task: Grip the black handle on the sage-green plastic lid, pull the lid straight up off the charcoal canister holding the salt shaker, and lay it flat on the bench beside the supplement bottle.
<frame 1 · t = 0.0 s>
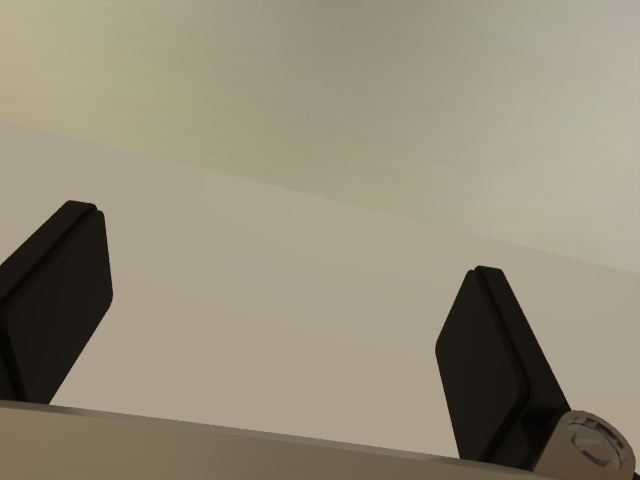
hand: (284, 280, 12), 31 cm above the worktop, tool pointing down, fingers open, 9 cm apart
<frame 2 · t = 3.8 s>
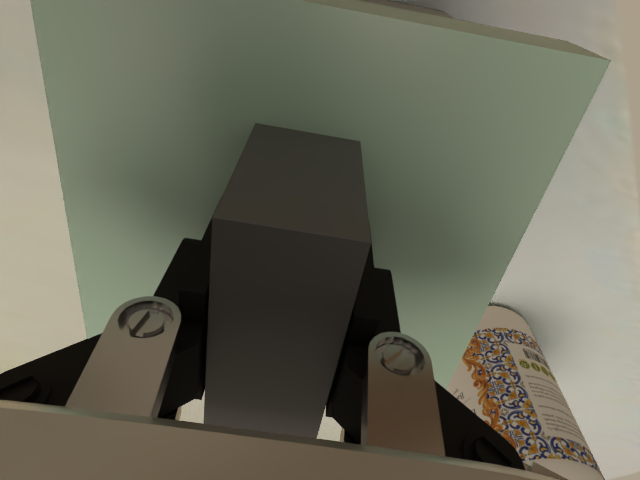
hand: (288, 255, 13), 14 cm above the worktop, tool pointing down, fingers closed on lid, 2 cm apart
lid: (296, 208, 15), point 12 cm above the worktop, touching canister, gripper
bath foam: (478, 335, 34), on the worktop
canister: (312, 103, 24), on the worktop
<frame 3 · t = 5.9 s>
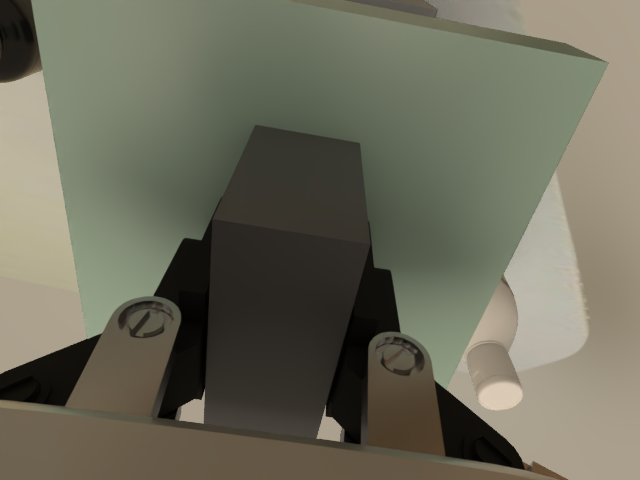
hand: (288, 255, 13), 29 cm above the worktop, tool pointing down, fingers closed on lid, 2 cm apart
lid: (295, 209, 15), point 26 cm above the worktop, touching gripper
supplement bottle: (51, 13, 36), on the worktop
bath foam: (442, 231, 46), on the worktop
canister: (322, 51, 37), on the worktop
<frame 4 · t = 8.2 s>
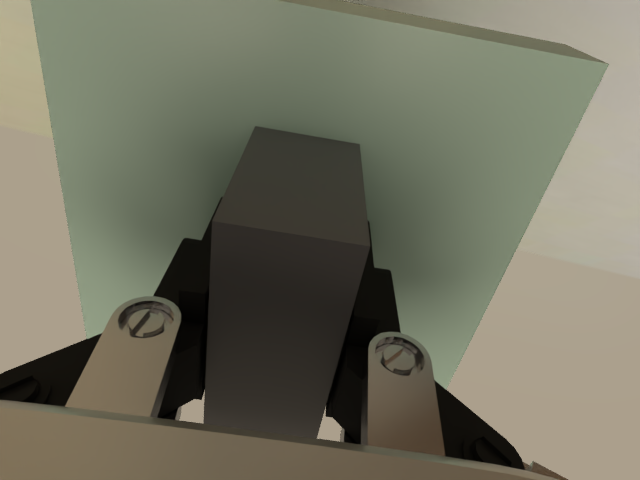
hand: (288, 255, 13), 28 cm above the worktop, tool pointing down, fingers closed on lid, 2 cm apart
lid: (295, 210, 15), point 25 cm above the worktop, touching gripper
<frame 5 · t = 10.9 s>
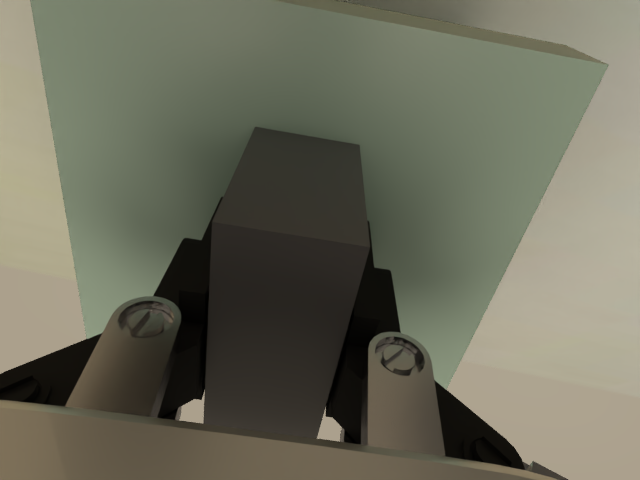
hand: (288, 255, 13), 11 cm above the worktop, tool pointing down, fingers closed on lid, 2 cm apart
lid: (295, 211, 15), point 8 cm above the worktop, touching gripper
when the fingers open (5 cm above the worktop, at t = 12.9 s): lid drops 2 cm, on the worktop.
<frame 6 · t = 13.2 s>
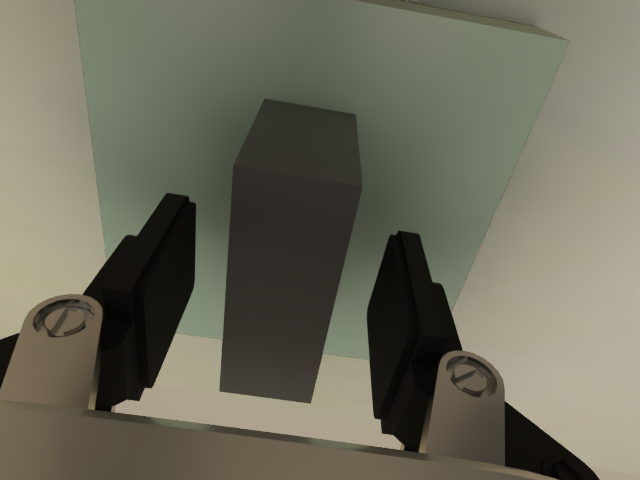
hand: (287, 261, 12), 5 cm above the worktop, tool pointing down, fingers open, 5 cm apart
lid: (299, 181, 17), on the worktop
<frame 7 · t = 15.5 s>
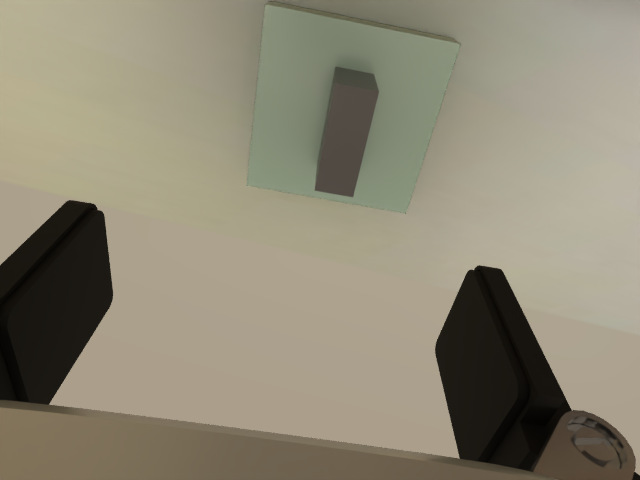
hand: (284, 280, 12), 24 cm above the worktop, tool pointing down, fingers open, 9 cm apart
lid: (343, 111, 34), on the worktop
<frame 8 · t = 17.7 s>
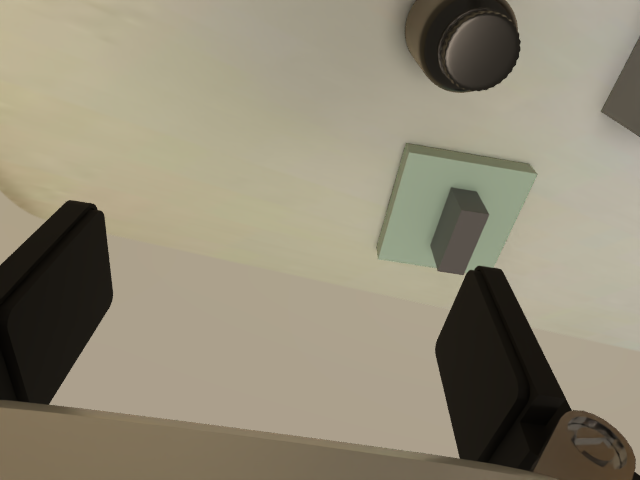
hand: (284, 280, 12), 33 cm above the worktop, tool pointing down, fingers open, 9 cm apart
lid: (448, 208, 48), on the worktop
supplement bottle: (443, 25, 39), on the worktop
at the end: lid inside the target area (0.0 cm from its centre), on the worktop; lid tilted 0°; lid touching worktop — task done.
